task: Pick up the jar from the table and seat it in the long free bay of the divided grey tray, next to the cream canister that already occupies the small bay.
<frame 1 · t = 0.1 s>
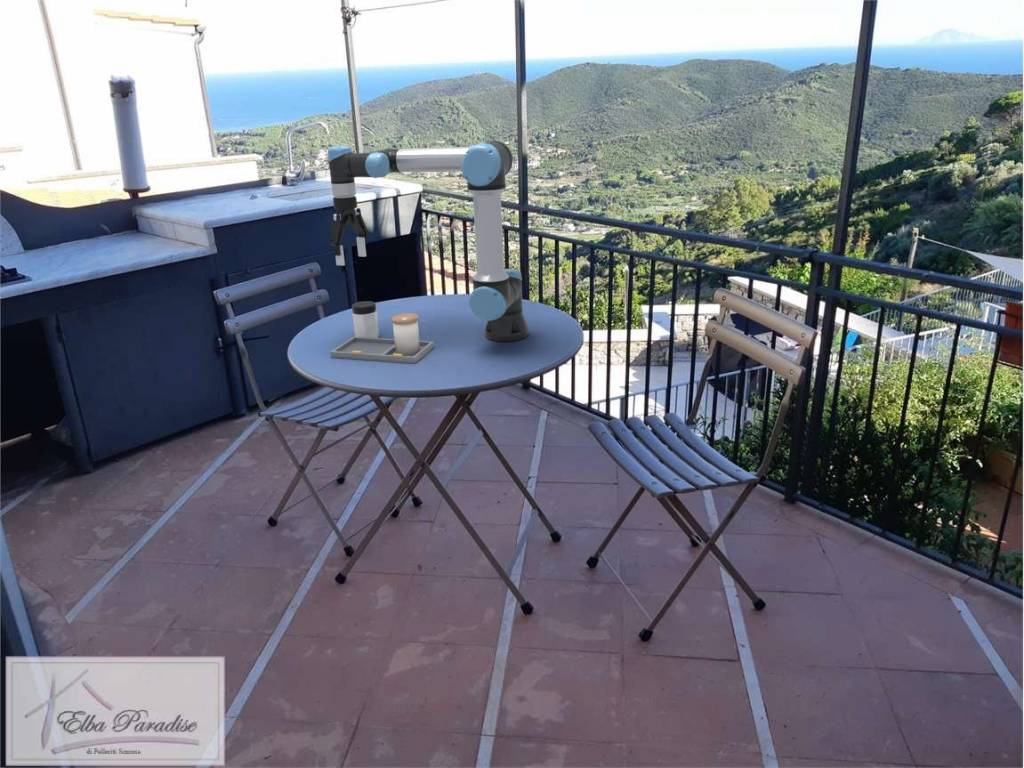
hand: (351, 260, 251), 28 cm above the table, tool pointing down, fingers open, 13 cm apart
divided grey tray: (383, 352, 247), on the table
jar: (367, 337, 263), on the table
twin canister: (408, 354, 244), resting on divided grey tray
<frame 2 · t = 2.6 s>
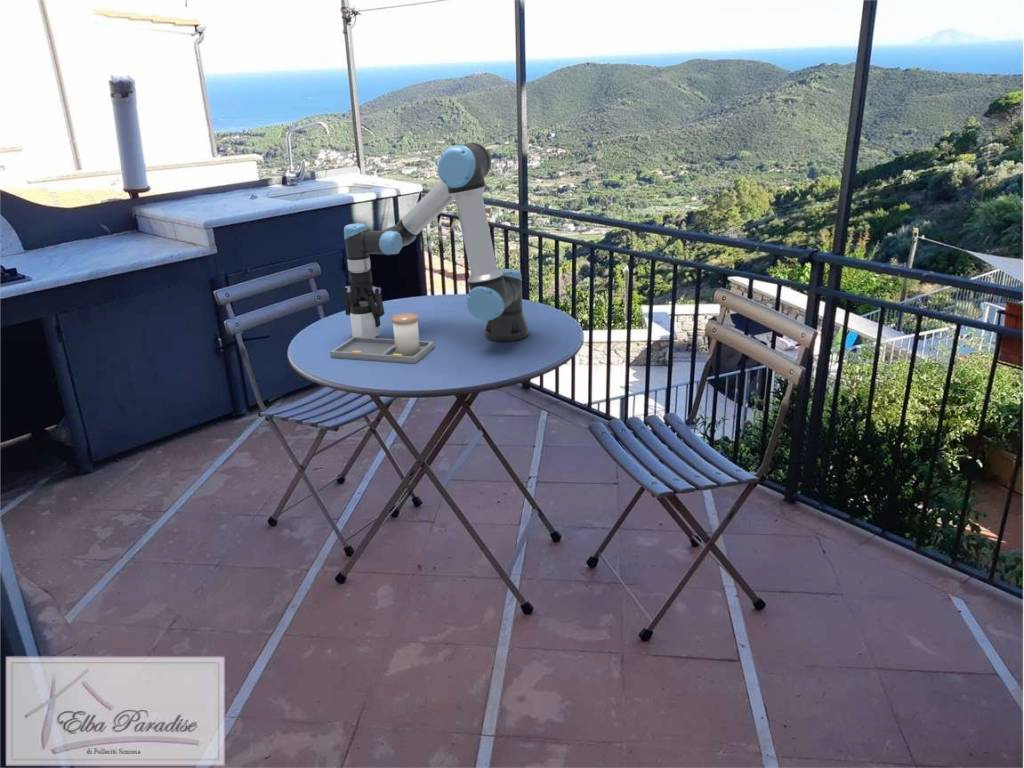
hand: (367, 334, 262), 1 cm above the table, tool pointing down, fingers closed on jar, 6 cm apart
jar: (365, 337, 263), on the table, touching gripper
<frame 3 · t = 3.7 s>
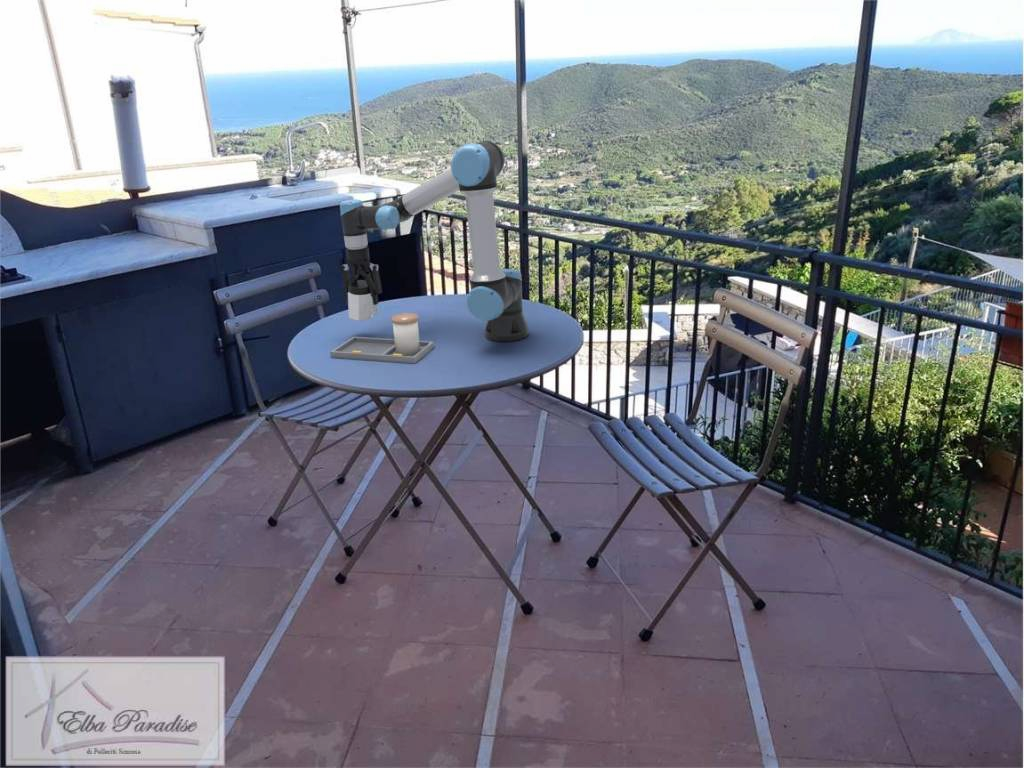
hand: (366, 313, 259), 9 cm above the table, tool pointing down, fingers closed on jar, 6 cm apart
jar: (361, 316, 261), point 7 cm above the table, touching gripper
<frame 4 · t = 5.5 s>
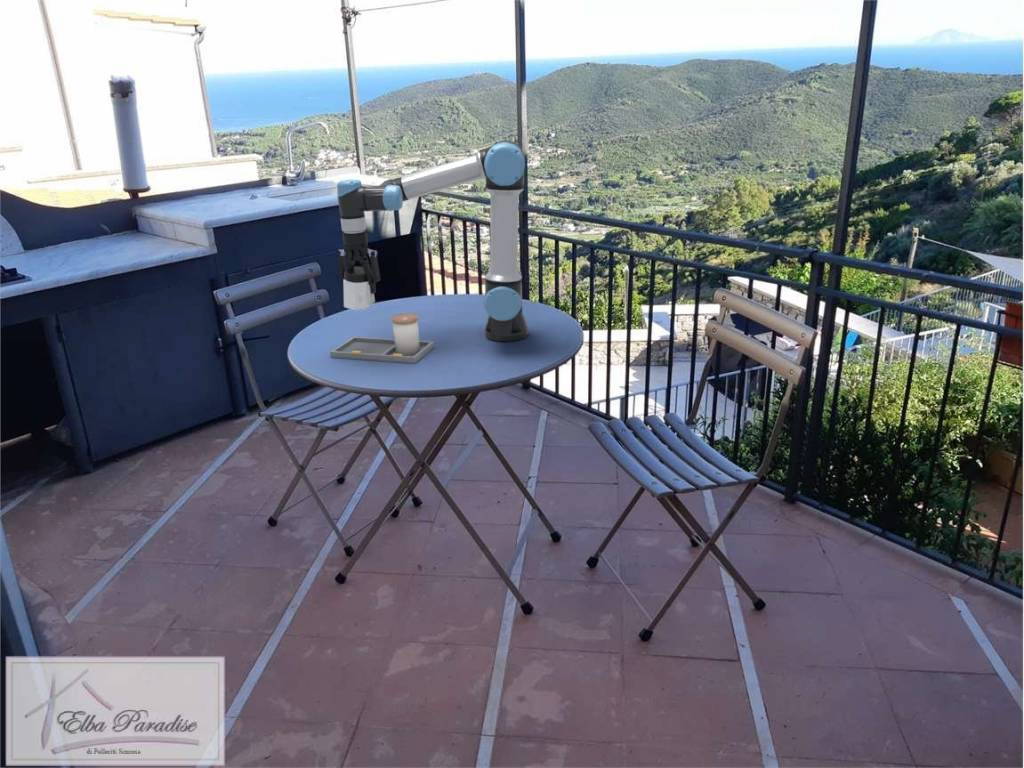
hand: (362, 302, 242), 17 cm above the table, tool pointing down, fingers closed on jar, 6 cm apart
jar: (357, 306, 244), point 15 cm above the table, touching gripper
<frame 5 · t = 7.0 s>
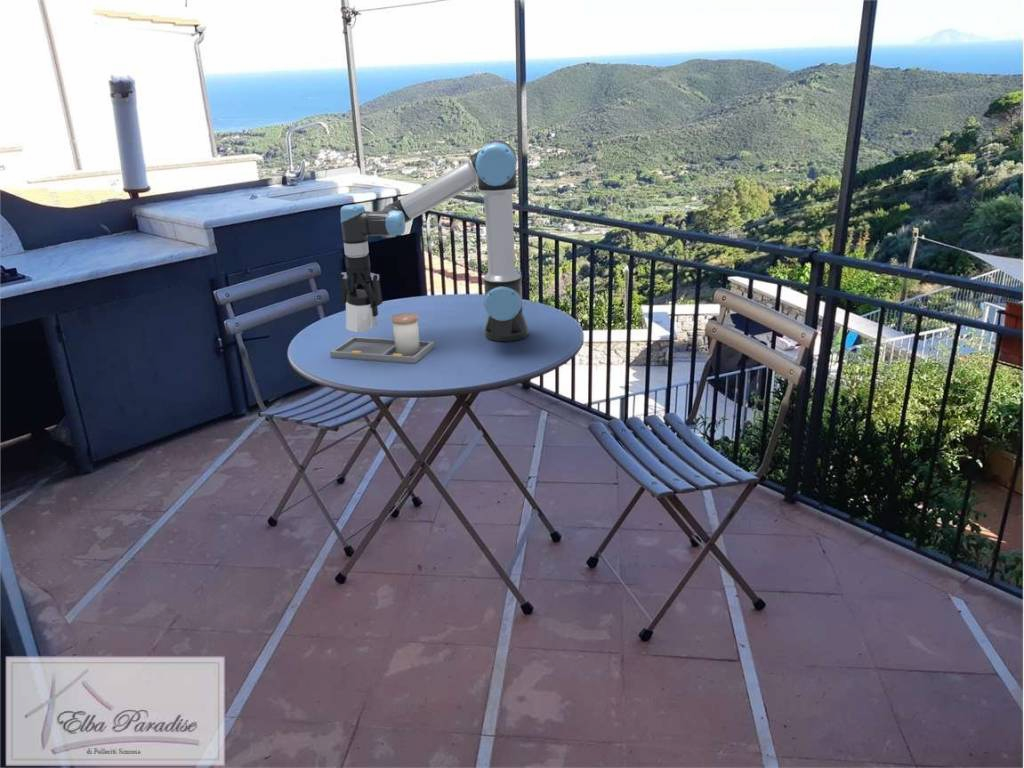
hand: (364, 324, 245), 9 cm above the table, tool pointing down, fingers closed on jar, 6 cm apart
jar: (359, 328, 247), point 8 cm above the table, touching gripper
when the fingers open (5 cm above the table, at t = 7.9 s): jar stays where it is, point 3 cm above the table.
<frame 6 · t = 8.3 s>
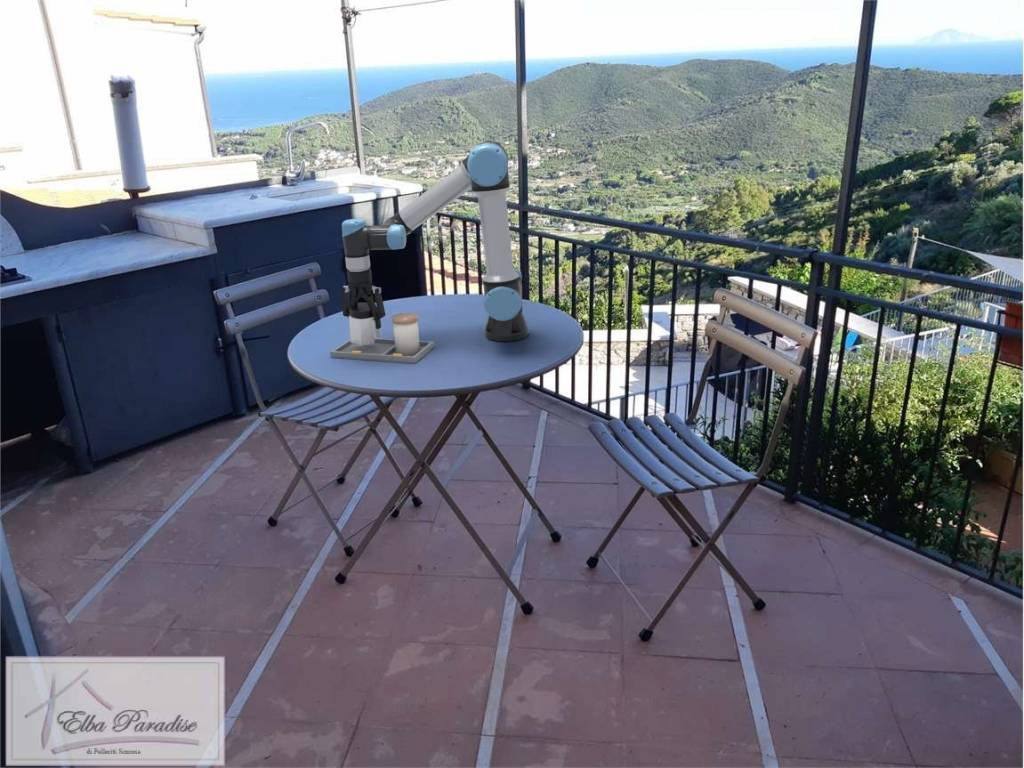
hand: (366, 337, 246), 5 cm above the table, tool pointing down, fingers open, 7 cm apart
jar: (363, 341, 248), point 3 cm above the table, touching gripper
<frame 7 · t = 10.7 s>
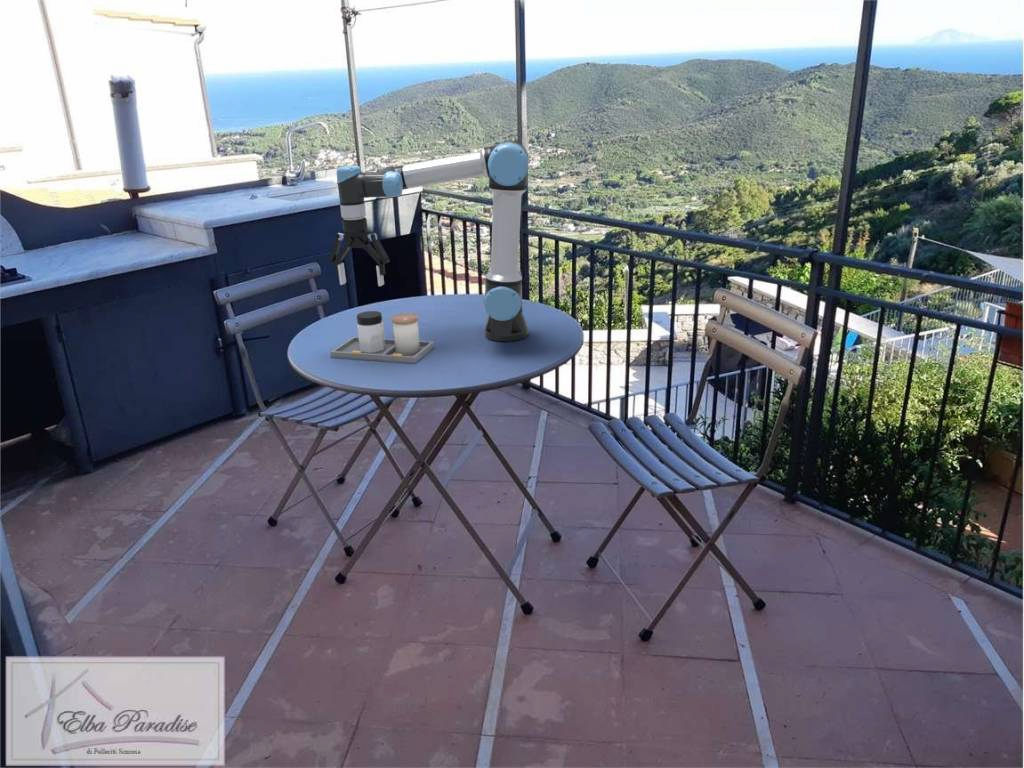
hand: (362, 284, 240), 23 cm above the table, tool pointing down, fingers open, 13 cm apart
jar: (373, 349, 249), resting on divided grey tray
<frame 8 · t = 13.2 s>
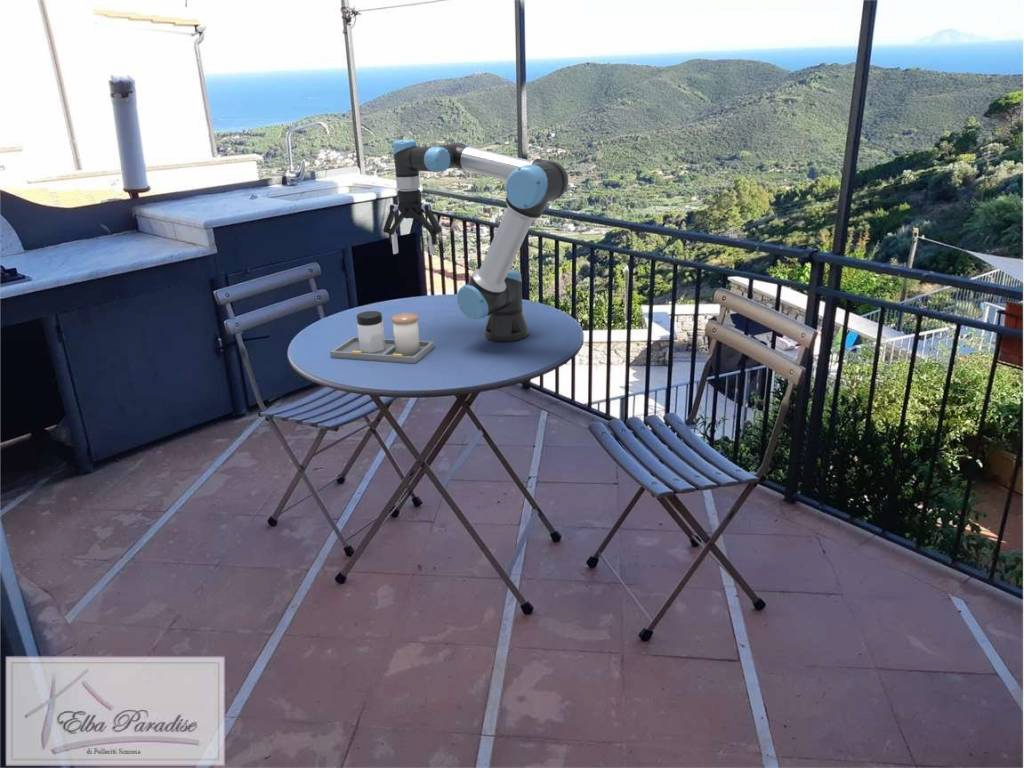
hand: (414, 253, 252), 29 cm above the table, tool pointing down, fingers open, 13 cm apart
nothing on the table moved.
at the end: jar inside the target area on the divided grey tray (1.7 cm from its centre), point 0.4 cm above the divided grey tray's base; jar tilted 0°; the gripper is holding nothing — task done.
